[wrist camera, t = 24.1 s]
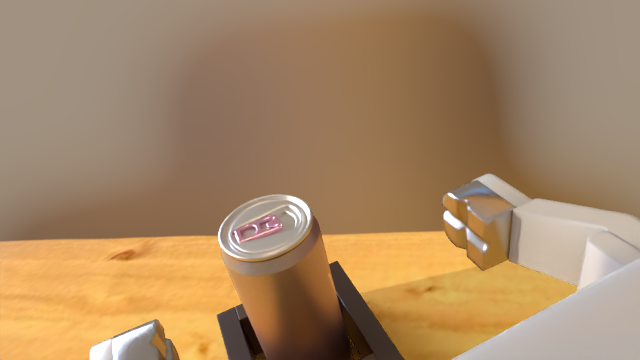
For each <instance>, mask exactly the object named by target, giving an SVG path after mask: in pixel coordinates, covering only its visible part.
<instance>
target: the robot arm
mask: <svg viewBox="0 0 640 360" xmlns="http://www.w3.org/2000/svg"><path fill="white" fill-rule="evenodd" d="M442 206H443V207H444V208H446V209H447V210H446V212H445V214H444V215H443V217H442V220H443V228H444V230H445V233H446V235H447V237H448V238H449V239H450V241H451V242H452V243H453V244H454V245H455V246H456V247H459V248H463V249H466V251H467V257H468V258H469V259H470V260H471V261H472V262H473V263H475V264H476V265H477V266H478V267H479V268H480V269H481V270H482V271H485V270H487V269H489V268H491V267H493V266H495V265H498V264H500V263H502V262H504V261H506V260H508V259H509V261H510V262H513V263H516V264H518V265H521V266H524V267H527V268H529V269H532V270H535V271H537V272H540V273H543V274H545V275H548V276H551V277H554V278H556V279H559V280H562V281H564V282H567V283H570V284H573V285H575V286H577V291H576V292H575V293H573V294H571V295H570V296H568V297H566V298H564V299H562V300H560V301H558V302H557V303H555V304H553V305H551V306H549V307H547V308H546V309H544V310H542V311H540V312H538V313H536V314H534V315H533V316H531V317H529V318H527V319H525V320H523V321H521V322H520V323H518V324H516V325H514V326H512V327H510V328H508V329H507V330H505V331H503V332H501V333H499V334H497V335H496V336H494V337H492V338H490V339H488V340H486V341H484V342H483V343H481V344H479V345H477V346H475V347H473V348H472V349H470V350H468V351H466V352H464V353H462V354H460V355H459V356H457V357H455V358H453V359H451V360H640V219H638V218H636V217H634V216H632V215H630V214H624V213H619V212H614V211H608V210H602V209H596V208H591V207H585V206H579V205H574V204H568V203H562V202H556V201H551V200H544V199H539V198H536V199H534V200H532V199H530V198H529V197H527V196H526V195H524V194H523V193H521V192H520V191H518V190H516V189H515V188H513V187H512V186H510V185H509V184H507V183H506V182H504V181H502V180H501V179H499V178H498V177H496V176H495V175H493V174H486V175H484V176H482V177H479V178H477V179H475V180H473V181H471V182H468V183H466V184H464V185H462V186H459V187H457V188H455V189H453V190H451V191H448V192H446V193H444V194H443V196H442ZM89 360H180V359H179V356H178V353H177V351H176V349H175V346H174V345H173V343H172V341H171V340H170V339H166V338H165V334H164V328H163V327H162V325H161V324H160V322H159V321H158V320H156V319H155V320H153V321H150V322H148V323H145V324H143V325H140V326H138V327H136V328H133V329H131V330H128V331H126V332H123V333H121V334H119V335H116V336H114V337H113V338H110V339H108V340H105V341H103V342H100V343H98V344H95V345H93V346H92V348H91V350H90V354H89Z"/></svg>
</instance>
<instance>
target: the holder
mask: <svg viewBox="0 0 640 360" xmlns="http://www.w3.org/2000/svg"><path fill="white" fill-rule="evenodd" d="M329 267H330V271H331V275H332V279H333V282H334V286H335V290H336V294H337V298H338V302H339V306H340V310H341V314H342V318H343V322H344V326H345V329H346V331H347V332H348V334H349V336H350V337H351V339H352V341H353V342H354V344H355V346H356V348H357V349H358V351H359V353H360V354H361V356H362V359H360V360H404V359H403V357H402V356H401V354H400V353H399V351H398V350H397V348H396V347H395V345H394V344H393V342H392V341H391V339H390V338H389V336H388V335H387V333H386V332H385V331H384V329H383V328H382V326H381V325H380V323H379V322H378V320H377V319H376V317H375V316H374V314H373V313H372V311H371V310H370V308H369V307H368V305H367V304H366V303H365V301H364V300H363V298H362V297H361V295H360V294H359V292H358V291H357V289H356V288H355V286H354V285H353V283H352V282H351V280H350V279H349V277H348V276H347V275H346V273H345V272H344V270H343V269H342V267H341V266H340V264H339V263H338V261H335V262H333V263H331V264H329ZM217 319H218V322H219V326H220V330H221V333H222V337H223V341H224V344H225V348H226V351H227V355H228V359H229V360H257V359H256V356H255V354H257V353H260V352H262V351H263V349H262V347H261V345H260V343H259V340H258V338H257V336H256V334H255V331H254V329H253V327H252V325H251V322H250V320H249V318H248V316H247V313H246V311H245V309H244V307H243V304H240V305H238V306H236V307H233V308H231V309H229V310H227V311H225V312H222V313H220V314H218V315H217Z"/></svg>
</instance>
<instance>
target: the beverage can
mask: <svg viewBox="0 0 640 360" xmlns="http://www.w3.org/2000/svg"><path fill="white" fill-rule="evenodd" d="M218 237H219V244H220V246H221V256H222V259H223V261H224V264H225V266H226V268H227V270H228V273H229V275H230V277H231V279H232V282H233V284H234V286H235V289H236V291H237V293H238V295H239V298H240V300H241V302H242V304H243V307H244V309H245V311H246V313H247V316H248V318H249V320H250V322H251V325H252V327H253V329H254V331H255V334H256V336H257V338H258V340H259V343H260V345H261V347H262V349H263V352H264V354H265V356H266V358H267V360H353V358H352V353H351V349H350V345H349V341H348V337H347V333H346V330H345V326H344V322H343V318H342V314H341V310H340V306H339V302H338V298H337V294H336V290H335V286H334V282H333V279H332V275H331V271H330V267H329V263H328V259H327V255H326V251H325V247H324V243H323V239H322V235H321V231H320V228H319V224H318V221H317V220H316V218H315V217H314V216H313V213H312V210H311V208H310V206H309V205H308V204H307V203H306V202H305V201H304V200H302V199H300V198H298V197H296V196H292V195H286V194H273V195H267V196H263V197H259V198H256V199H253V200H251V201H249V202H246V203H245V204H243V205H241V206H239V207H238V208H237V209H236V210H234V211H233V212H232V213H231V214H229V216H228V217H227V218H226V219H225V221H224V222H223V223H222V225H221V227H220V230H219V236H218Z"/></svg>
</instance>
